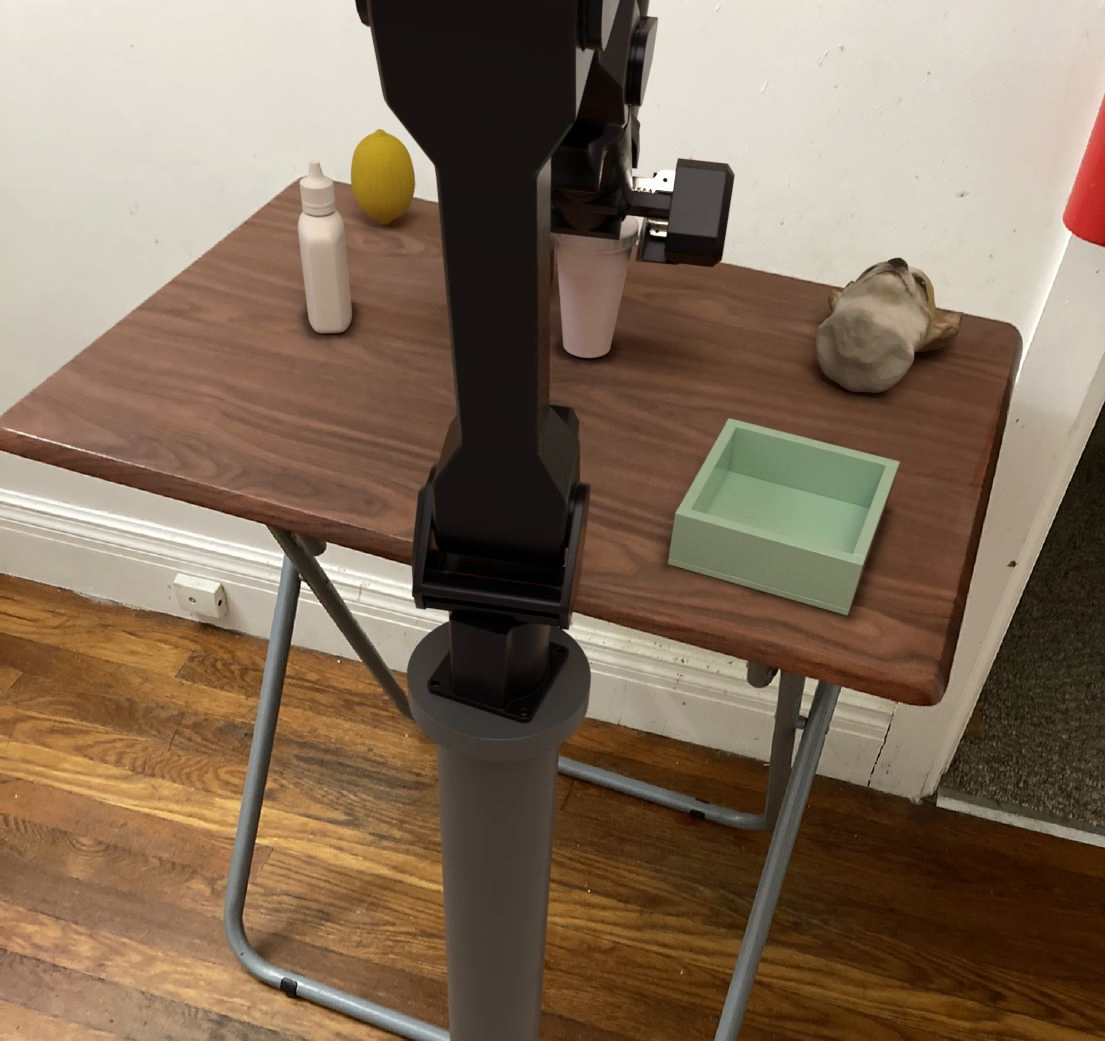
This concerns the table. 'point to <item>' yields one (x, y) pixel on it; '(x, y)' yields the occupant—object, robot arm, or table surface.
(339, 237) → the eye dropper bottle
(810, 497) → the open box
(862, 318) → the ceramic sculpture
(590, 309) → the smoothie
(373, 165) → the lemon
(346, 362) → the table surface
